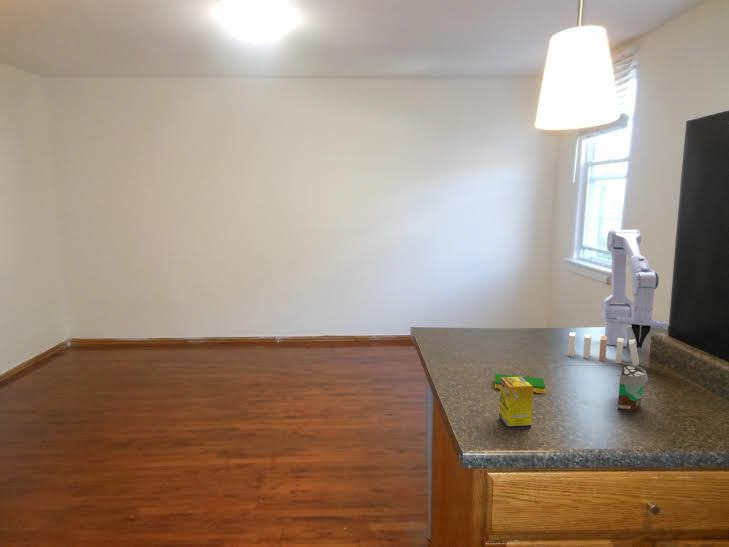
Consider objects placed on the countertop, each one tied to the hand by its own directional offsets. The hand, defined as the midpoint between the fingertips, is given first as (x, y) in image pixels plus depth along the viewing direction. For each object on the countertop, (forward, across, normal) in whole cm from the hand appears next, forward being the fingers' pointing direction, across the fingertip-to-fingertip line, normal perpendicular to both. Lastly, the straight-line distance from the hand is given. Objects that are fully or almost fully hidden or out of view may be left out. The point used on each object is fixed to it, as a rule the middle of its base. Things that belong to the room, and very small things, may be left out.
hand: (639, 346), depth 151 cm
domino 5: (+6, -1, 0) cm, 6 cm away
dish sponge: (+7, -31, -39) cm, 50 cm away
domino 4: (+6, -6, 0) cm, 8 cm away
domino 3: (+6, -11, 0) cm, 12 cm away
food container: (+6, -2, -38) cm, 39 cm away
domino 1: (+6, -21, 0) cm, 21 cm away
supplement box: (+6, -27, -63) cm, 69 cm away
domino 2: (+6, -16, 0) cm, 17 cm away
